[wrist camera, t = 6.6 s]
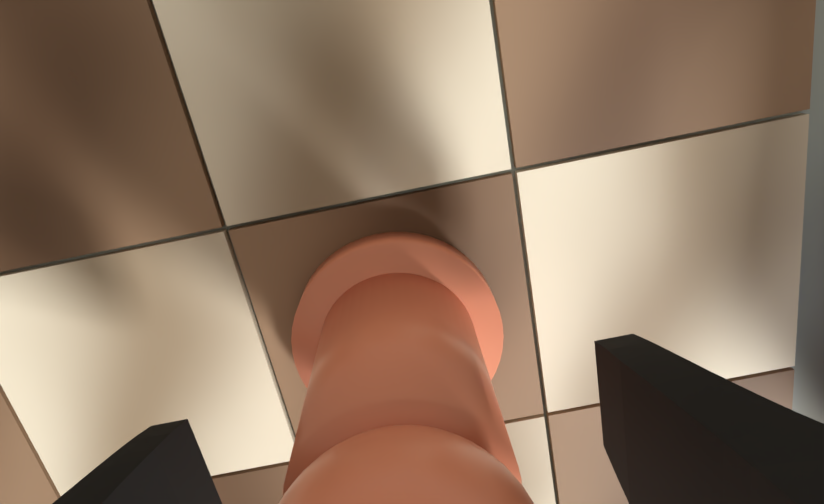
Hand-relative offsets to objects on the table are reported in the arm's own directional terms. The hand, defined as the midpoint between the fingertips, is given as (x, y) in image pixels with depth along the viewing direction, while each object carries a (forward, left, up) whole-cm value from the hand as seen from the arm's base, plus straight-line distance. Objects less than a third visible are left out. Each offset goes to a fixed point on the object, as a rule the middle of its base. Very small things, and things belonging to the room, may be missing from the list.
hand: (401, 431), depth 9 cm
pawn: (0, 0, -3) cm, 4 cm away
